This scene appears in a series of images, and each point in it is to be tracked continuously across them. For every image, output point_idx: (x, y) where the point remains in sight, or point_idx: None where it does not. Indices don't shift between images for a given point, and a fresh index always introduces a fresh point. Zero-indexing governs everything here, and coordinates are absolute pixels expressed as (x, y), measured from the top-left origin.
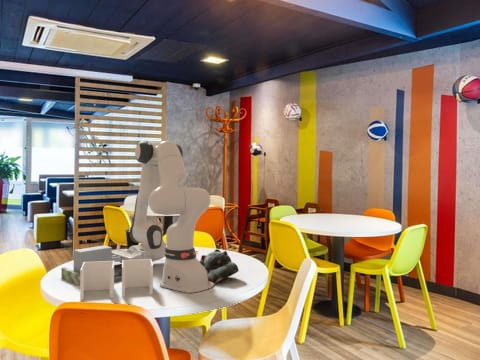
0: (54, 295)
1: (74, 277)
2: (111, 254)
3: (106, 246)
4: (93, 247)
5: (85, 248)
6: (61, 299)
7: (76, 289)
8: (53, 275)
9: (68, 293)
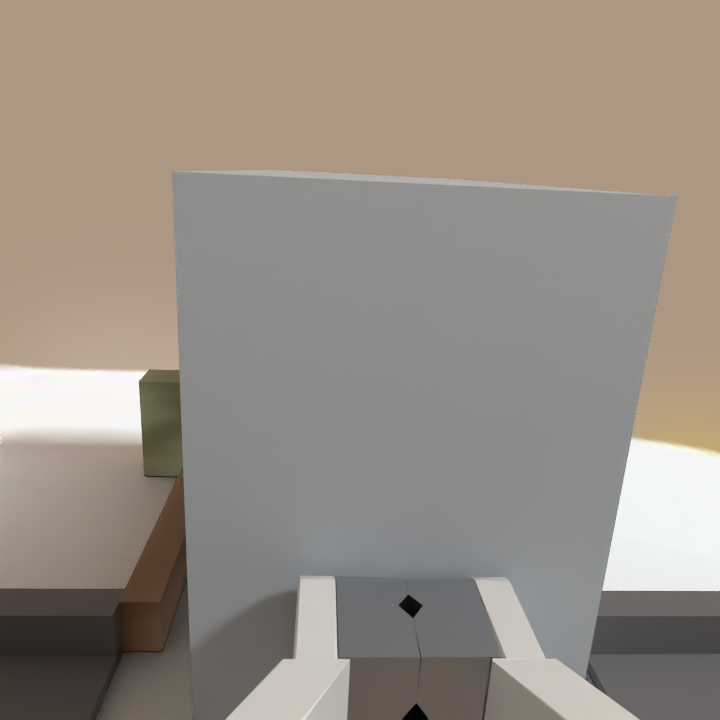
0: (115, 372)
1: None
2: (185, 419)
3: (439, 183)
4: (481, 182)
5: (462, 180)
6: (10, 369)
7: (81, 431)
8: (627, 457)
9: (61, 398)
